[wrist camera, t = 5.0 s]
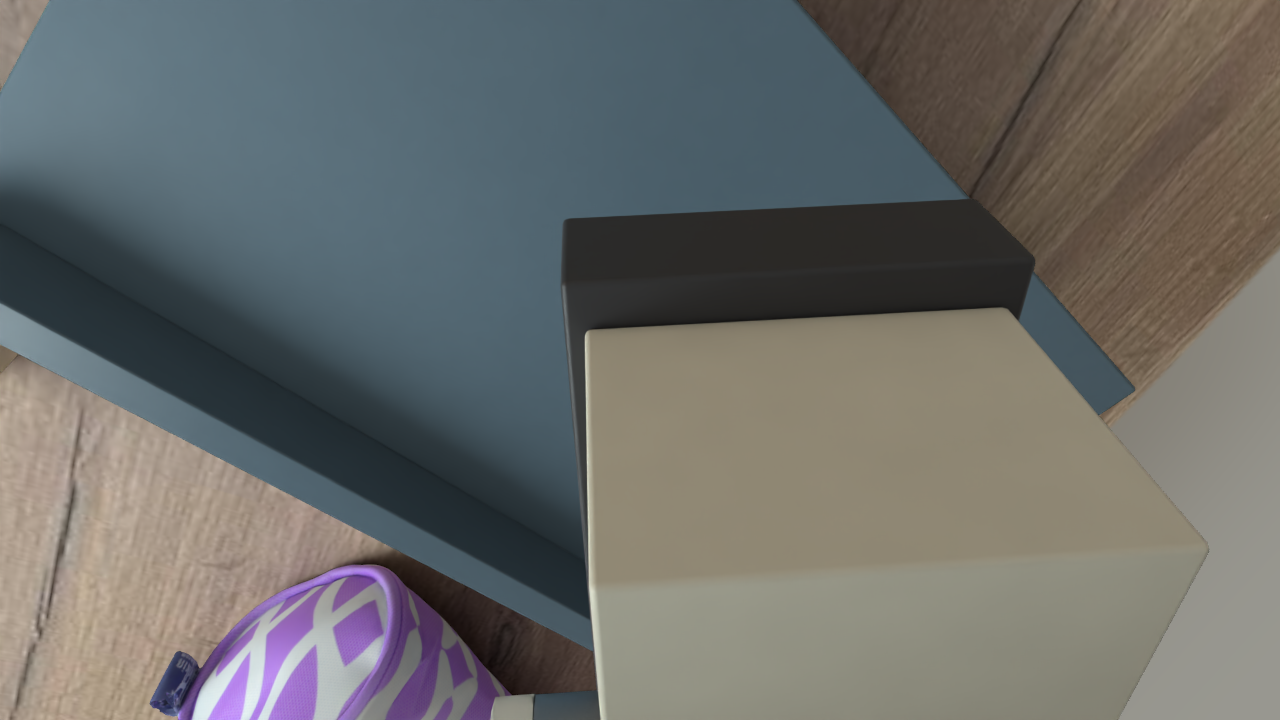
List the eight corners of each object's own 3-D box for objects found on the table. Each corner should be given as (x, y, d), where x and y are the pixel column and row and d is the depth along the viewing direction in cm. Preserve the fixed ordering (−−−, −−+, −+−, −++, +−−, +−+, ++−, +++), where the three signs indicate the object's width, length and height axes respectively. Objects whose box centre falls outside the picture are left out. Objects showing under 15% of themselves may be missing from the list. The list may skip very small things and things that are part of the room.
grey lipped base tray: (404, -426, 16) (292, -593, 9) (1030, 281, 26) (1185, 438, 20) (74, 130, 21) (-144, 271, 15) (700, 536, 32) (736, 726, 25)
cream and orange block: (561, 216, 9) (551, 538, 5) (977, 196, 9) (1277, 490, 5) (610, 792, 16) (622, 1117, 12) (846, 773, 16) (933, 1088, 12)
